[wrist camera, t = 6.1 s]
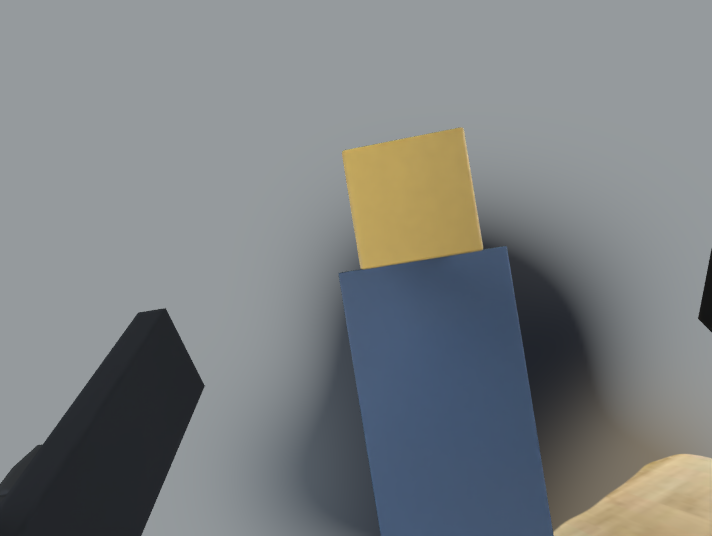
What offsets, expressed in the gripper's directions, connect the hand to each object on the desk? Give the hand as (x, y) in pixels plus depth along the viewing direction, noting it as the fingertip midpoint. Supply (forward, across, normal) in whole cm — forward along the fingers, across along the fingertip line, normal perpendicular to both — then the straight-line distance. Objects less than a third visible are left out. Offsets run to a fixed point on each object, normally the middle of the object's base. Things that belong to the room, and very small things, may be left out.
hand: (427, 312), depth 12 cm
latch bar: (+12, 0, +5) cm, 13 cm away
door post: (0, 0, +33) cm, 33 cm away
